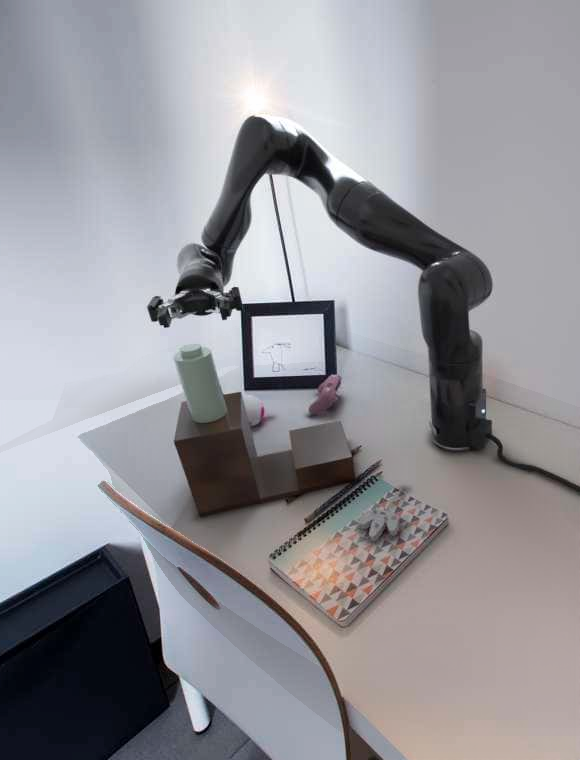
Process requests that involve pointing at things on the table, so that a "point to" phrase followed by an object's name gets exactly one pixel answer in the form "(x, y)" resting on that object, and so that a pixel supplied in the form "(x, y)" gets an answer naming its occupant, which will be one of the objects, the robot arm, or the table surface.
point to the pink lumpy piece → (326, 394)
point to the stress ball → (253, 409)
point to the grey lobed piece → (380, 522)
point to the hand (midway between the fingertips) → (194, 318)
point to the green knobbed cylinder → (200, 383)
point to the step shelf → (256, 460)
